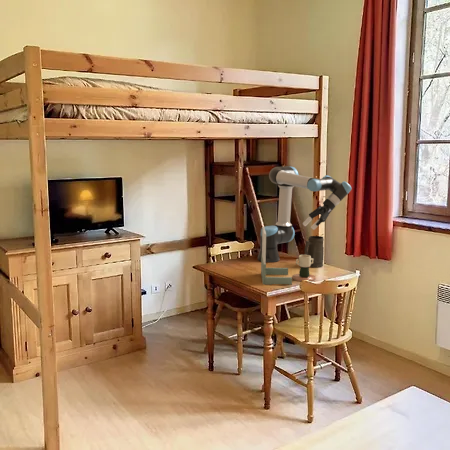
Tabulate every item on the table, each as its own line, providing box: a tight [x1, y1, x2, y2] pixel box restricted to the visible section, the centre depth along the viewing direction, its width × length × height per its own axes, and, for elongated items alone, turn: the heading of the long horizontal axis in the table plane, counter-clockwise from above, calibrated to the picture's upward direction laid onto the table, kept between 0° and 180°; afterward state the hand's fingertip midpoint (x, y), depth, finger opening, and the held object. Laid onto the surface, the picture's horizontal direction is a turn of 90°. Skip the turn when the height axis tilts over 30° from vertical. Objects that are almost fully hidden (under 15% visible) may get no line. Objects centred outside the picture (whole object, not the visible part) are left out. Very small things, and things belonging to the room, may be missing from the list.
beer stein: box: [303, 235, 325, 269], centre depth 349 cm, size 15×11×20 cm
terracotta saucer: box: [292, 273, 317, 282], centre depth 320 cm, size 14×14×1 cm
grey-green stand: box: [260, 226, 293, 286], centre depth 316 cm, size 17×24×30 cm
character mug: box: [295, 254, 313, 277], centre depth 319 cm, size 11×7×13 cm, turn 101°
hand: (307, 226), depth 328 cm, fingers open, 13 cm apart
